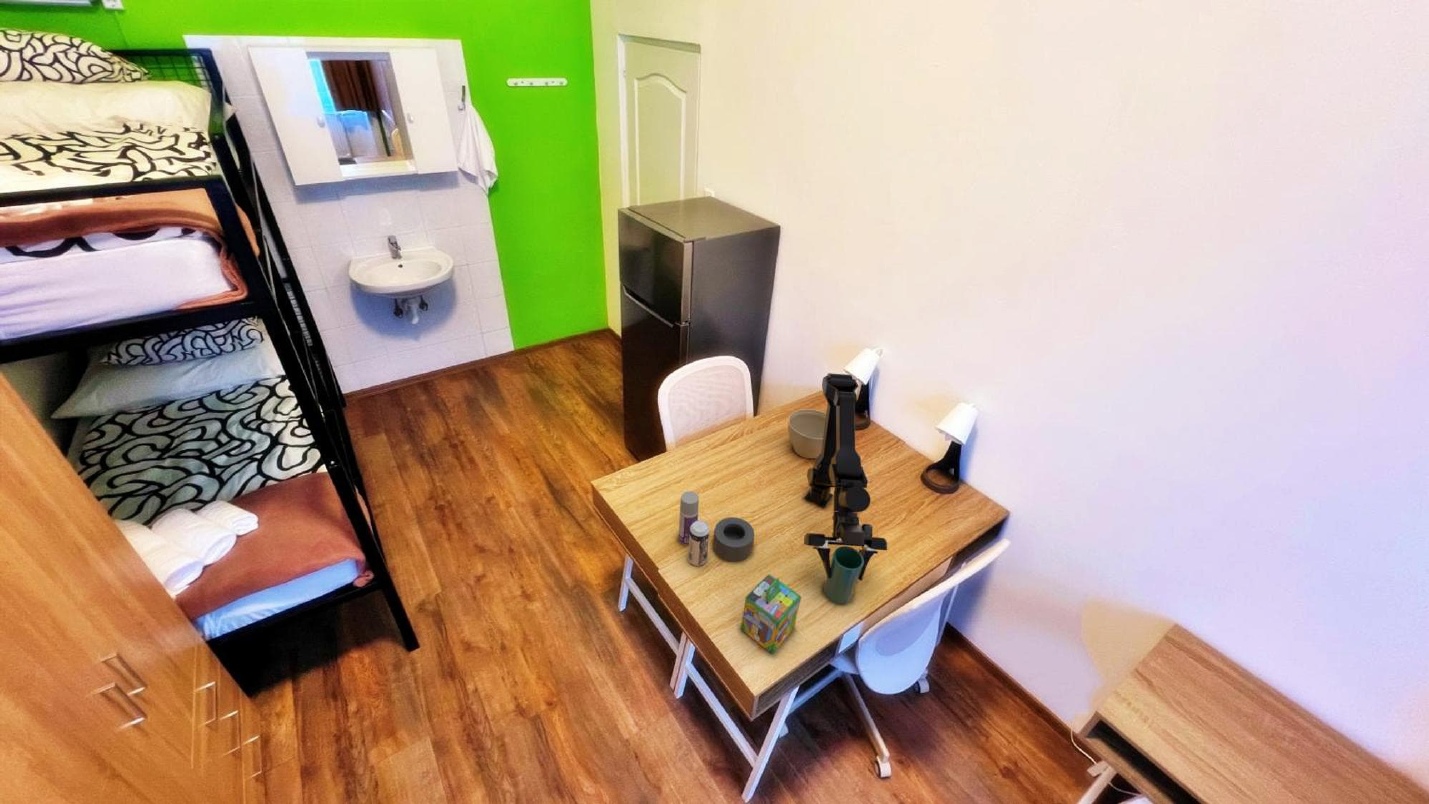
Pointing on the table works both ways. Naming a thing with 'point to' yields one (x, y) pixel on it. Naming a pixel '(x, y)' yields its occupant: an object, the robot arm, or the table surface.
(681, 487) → the table surface
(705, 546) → the grey capped bottle
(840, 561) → the green cup
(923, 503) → the table surface
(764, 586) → the chalk box
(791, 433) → the planter bowl
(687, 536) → the container
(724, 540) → the grey pot
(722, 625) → the table surface
